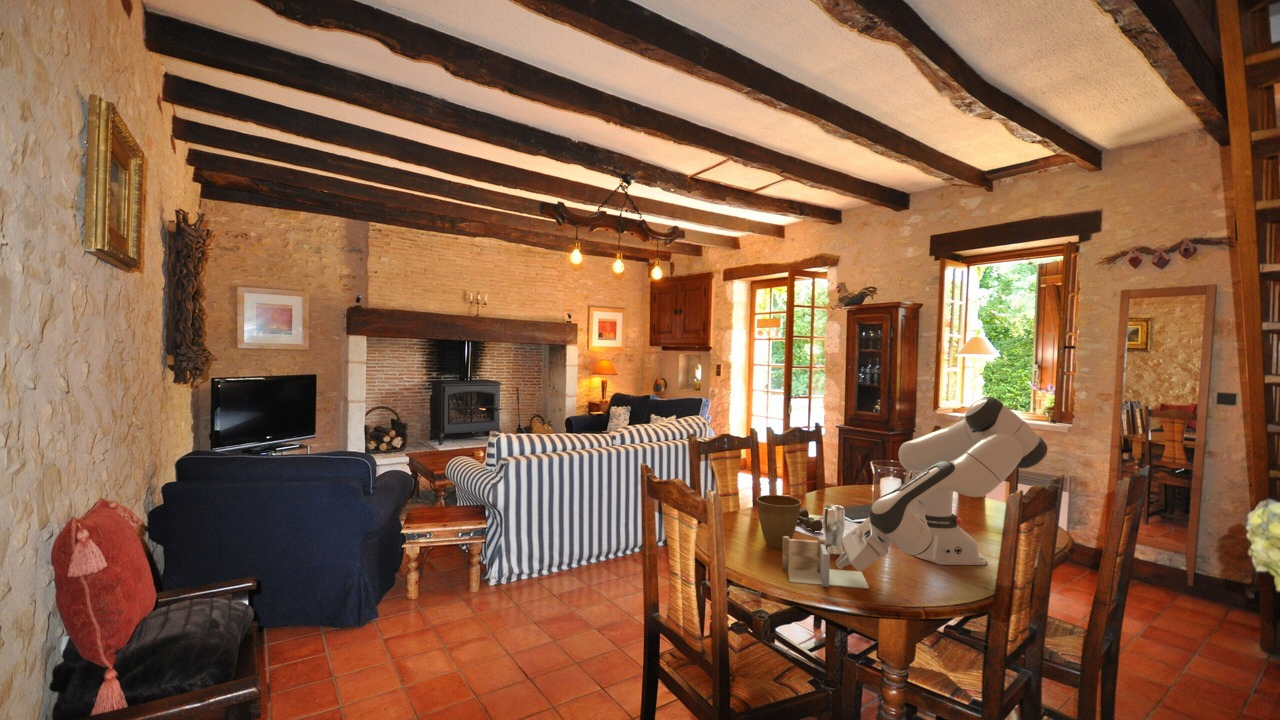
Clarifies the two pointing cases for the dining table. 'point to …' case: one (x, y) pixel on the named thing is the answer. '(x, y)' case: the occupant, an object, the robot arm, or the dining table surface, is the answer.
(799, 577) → the card
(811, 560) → the fence fixed section
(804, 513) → the kendama
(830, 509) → the beer glass
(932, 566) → the dining table surface
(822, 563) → the fence gate
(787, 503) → the plant pot
